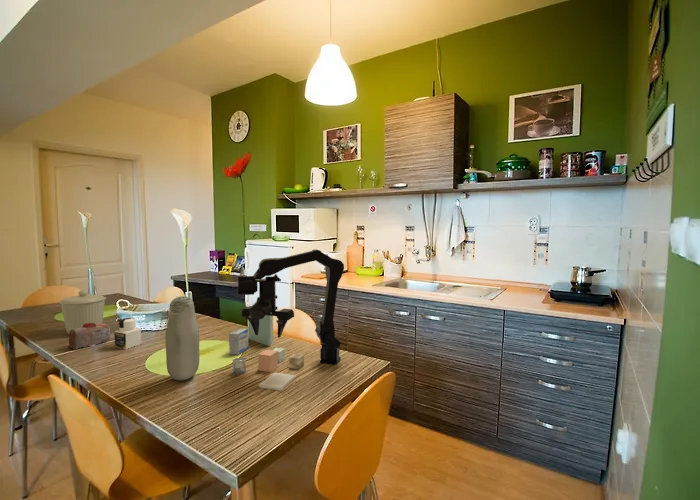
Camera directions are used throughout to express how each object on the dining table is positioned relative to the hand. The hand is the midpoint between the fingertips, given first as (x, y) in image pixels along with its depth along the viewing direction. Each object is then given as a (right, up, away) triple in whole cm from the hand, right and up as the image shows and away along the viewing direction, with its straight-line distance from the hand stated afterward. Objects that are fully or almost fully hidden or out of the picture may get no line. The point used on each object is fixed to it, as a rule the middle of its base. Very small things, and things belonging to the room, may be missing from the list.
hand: (267, 336), depth 123 cm
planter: (-9, -11, +33) cm, 35 cm away
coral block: (0, -12, +1) cm, 12 cm away
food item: (-84, -11, +26) cm, 89 cm away
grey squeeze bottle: (-27, -13, -8) cm, 31 cm away
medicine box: (-16, -11, +18) cm, 27 cm away
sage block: (+2, -12, +9) cm, 15 cm away
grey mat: (+6, -13, -11) cm, 17 cm away
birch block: (+10, -12, +3) cm, 16 cm away
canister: (-101, -10, +44) cm, 110 cm away
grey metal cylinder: (-9, -12, -3) cm, 16 cm away
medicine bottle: (-67, -11, +25) cm, 72 cm away
